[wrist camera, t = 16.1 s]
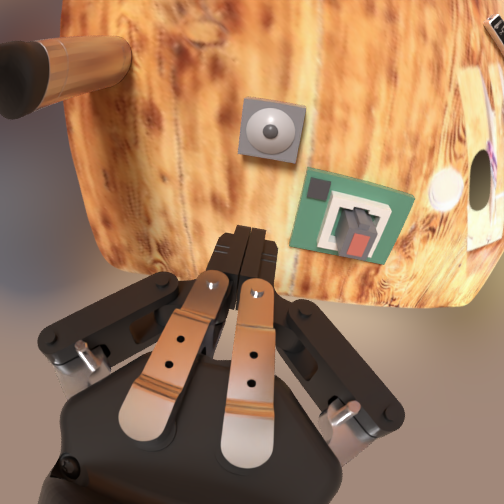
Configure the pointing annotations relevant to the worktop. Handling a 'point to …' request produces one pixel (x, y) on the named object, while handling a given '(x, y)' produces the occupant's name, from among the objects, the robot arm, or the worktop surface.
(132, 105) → the worktop surface
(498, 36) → the multiport hub
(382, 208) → the circuit board
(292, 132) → the grey square domed block
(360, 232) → the keyed plug
